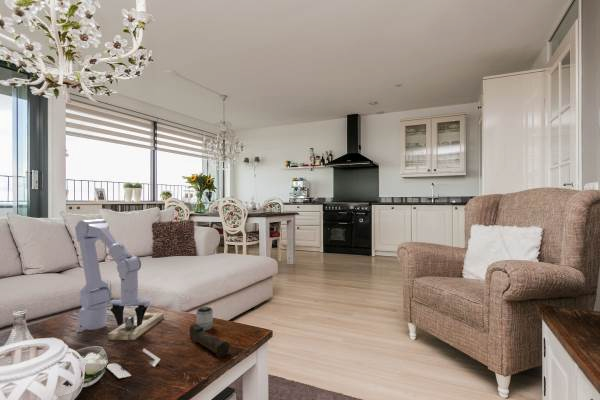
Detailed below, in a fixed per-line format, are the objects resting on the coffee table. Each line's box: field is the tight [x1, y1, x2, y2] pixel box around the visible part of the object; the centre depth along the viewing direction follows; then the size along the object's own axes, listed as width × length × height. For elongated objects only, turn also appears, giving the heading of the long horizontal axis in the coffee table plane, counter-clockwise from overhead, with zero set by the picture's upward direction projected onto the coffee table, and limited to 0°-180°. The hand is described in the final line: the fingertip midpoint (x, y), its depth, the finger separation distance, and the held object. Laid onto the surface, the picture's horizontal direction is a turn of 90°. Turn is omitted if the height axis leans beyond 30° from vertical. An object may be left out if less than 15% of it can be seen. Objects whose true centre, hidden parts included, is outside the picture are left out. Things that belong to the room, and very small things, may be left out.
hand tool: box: [189, 323, 230, 359], centre depth 114 cm, size 23×5×6 cm, turn 43°
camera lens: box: [195, 306, 214, 332], centre depth 130 cm, size 6×6×8 cm
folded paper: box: [106, 348, 161, 379], centre depth 100 cm, size 12×12×2 cm
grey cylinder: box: [124, 315, 135, 331], centre depth 123 cm, size 3×3×6 cm
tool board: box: [107, 312, 165, 341], centre depth 128 cm, size 10×22×3 cm, turn 177°
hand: (129, 324), depth 123 cm, fingers open, 7 cm apart
